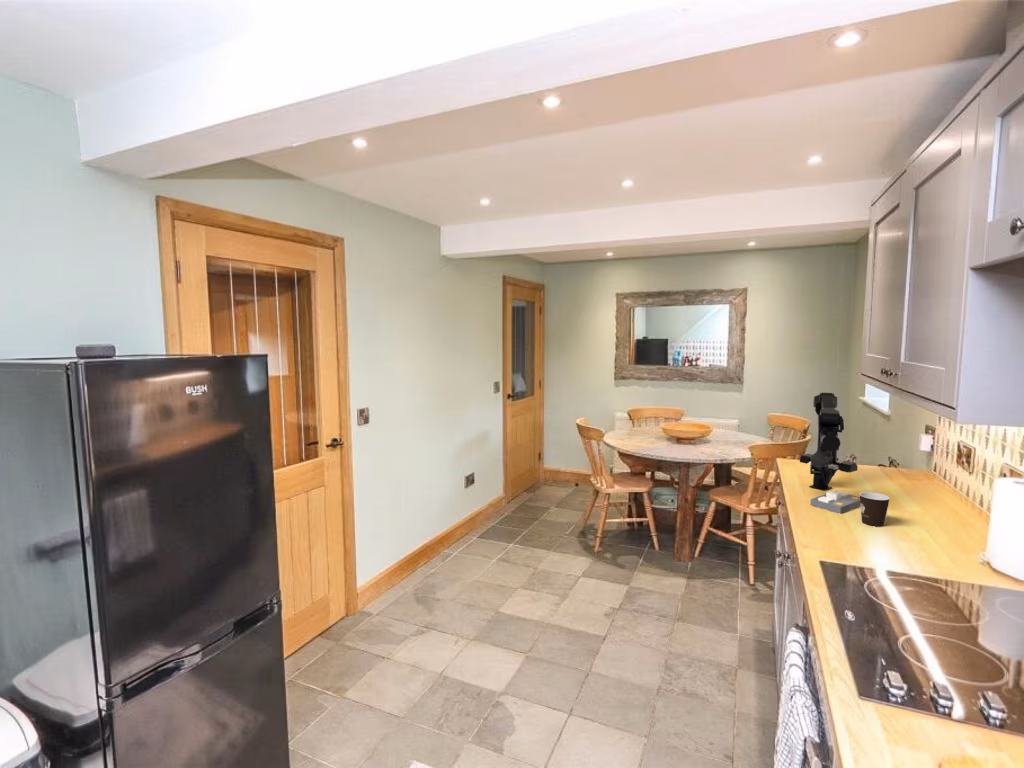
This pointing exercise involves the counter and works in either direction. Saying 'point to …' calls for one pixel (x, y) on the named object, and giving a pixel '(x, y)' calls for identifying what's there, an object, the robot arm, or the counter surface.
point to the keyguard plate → (838, 503)
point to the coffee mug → (873, 508)
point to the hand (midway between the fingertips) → (826, 484)
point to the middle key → (834, 495)
